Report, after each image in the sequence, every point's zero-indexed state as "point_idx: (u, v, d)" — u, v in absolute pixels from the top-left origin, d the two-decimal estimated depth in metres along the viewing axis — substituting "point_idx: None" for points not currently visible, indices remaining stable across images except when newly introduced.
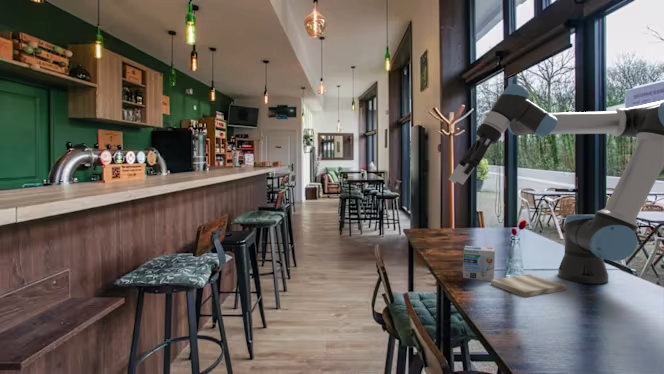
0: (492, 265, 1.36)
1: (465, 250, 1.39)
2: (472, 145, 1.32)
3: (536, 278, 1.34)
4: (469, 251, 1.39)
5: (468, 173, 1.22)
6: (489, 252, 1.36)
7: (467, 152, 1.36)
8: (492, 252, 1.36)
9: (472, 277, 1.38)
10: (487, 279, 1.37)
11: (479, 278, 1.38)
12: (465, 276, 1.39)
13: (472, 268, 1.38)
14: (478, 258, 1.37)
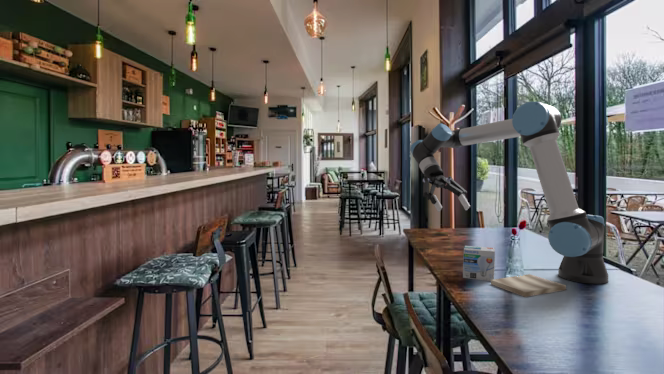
0: (492, 265, 1.36)
1: (465, 250, 1.39)
2: None
3: (536, 278, 1.34)
4: (469, 251, 1.38)
5: (433, 201, 1.51)
6: (489, 252, 1.36)
7: None
8: (492, 252, 1.36)
9: (472, 277, 1.38)
10: (487, 279, 1.37)
11: (479, 278, 1.38)
12: (465, 276, 1.39)
13: (472, 268, 1.38)
14: (478, 258, 1.37)
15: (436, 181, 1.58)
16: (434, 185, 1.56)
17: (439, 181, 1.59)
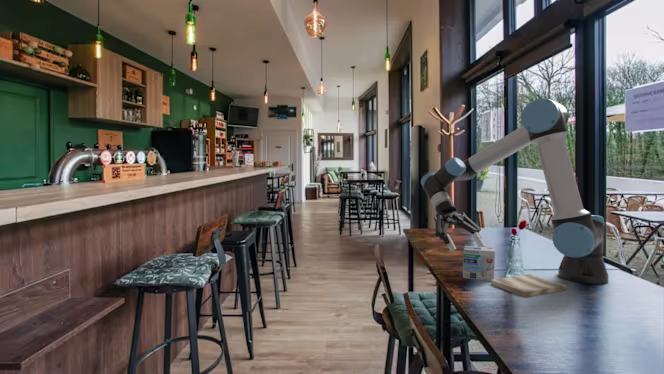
0: (492, 265, 1.36)
1: (465, 250, 1.39)
2: None
3: (536, 278, 1.34)
4: (469, 251, 1.39)
5: (446, 241, 1.43)
6: (489, 252, 1.36)
7: None
8: (492, 252, 1.36)
9: (472, 277, 1.38)
10: (487, 279, 1.37)
11: (479, 278, 1.38)
12: (465, 276, 1.39)
13: (472, 268, 1.38)
14: (478, 258, 1.37)
15: (449, 218, 1.50)
16: (447, 223, 1.49)
17: (452, 218, 1.52)
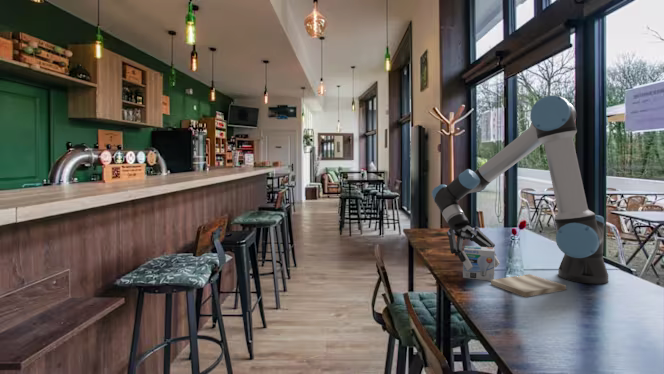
0: (492, 265, 1.36)
1: (465, 250, 1.39)
2: None
3: (536, 278, 1.34)
4: (469, 251, 1.39)
5: (462, 259, 1.37)
6: (489, 252, 1.36)
7: None
8: (492, 252, 1.36)
9: (472, 277, 1.38)
10: (487, 279, 1.37)
11: (479, 278, 1.38)
12: (465, 276, 1.39)
13: (472, 268, 1.38)
14: (478, 258, 1.37)
15: (463, 233, 1.44)
16: (461, 239, 1.43)
17: (465, 233, 1.46)
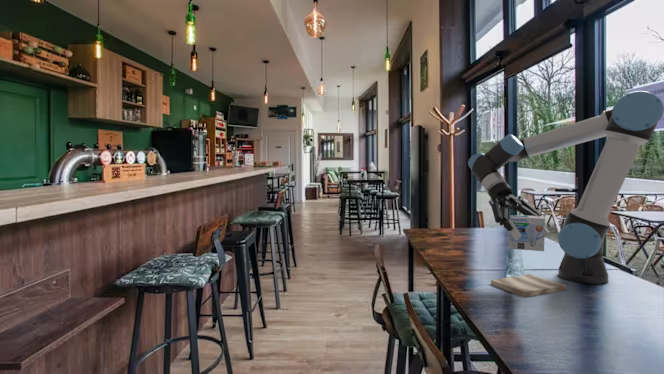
0: (542, 233, 1.24)
1: (511, 218, 1.28)
2: None
3: (536, 278, 1.34)
4: (516, 219, 1.27)
5: (509, 227, 1.26)
6: (539, 219, 1.25)
7: None
8: (542, 219, 1.24)
9: (520, 247, 1.27)
10: (537, 249, 1.25)
11: (528, 248, 1.26)
12: (512, 247, 1.28)
13: (520, 238, 1.27)
14: (526, 226, 1.26)
15: (507, 202, 1.33)
16: (506, 207, 1.32)
17: (509, 201, 1.35)
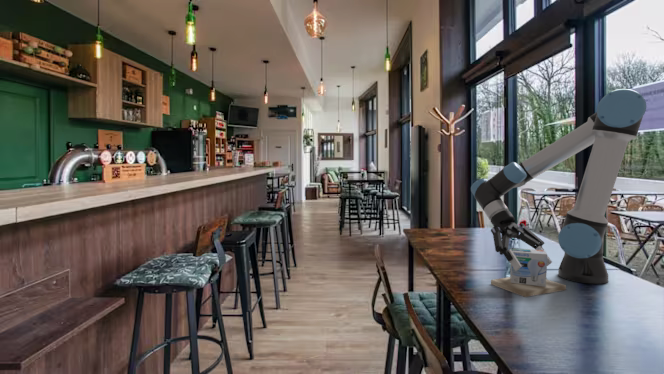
0: (544, 269, 1.25)
1: None
2: None
3: None
4: (518, 254, 1.27)
5: (509, 257, 1.26)
6: (541, 255, 1.25)
7: None
8: (544, 255, 1.24)
9: (521, 282, 1.27)
10: (539, 284, 1.25)
11: (529, 283, 1.26)
12: (513, 281, 1.28)
13: (522, 272, 1.27)
14: (528, 261, 1.26)
15: (509, 231, 1.33)
16: (507, 236, 1.32)
17: (511, 230, 1.34)
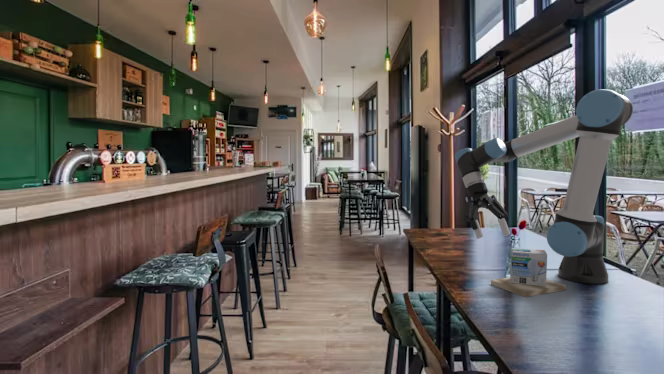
0: (544, 269, 1.25)
1: (513, 253, 1.28)
2: None
3: None
4: (518, 254, 1.27)
5: (474, 227, 1.43)
6: (541, 255, 1.25)
7: None
8: (544, 255, 1.24)
9: (521, 282, 1.27)
10: (539, 284, 1.25)
11: (529, 283, 1.26)
12: (513, 281, 1.28)
13: (522, 272, 1.27)
14: (528, 261, 1.26)
15: (480, 202, 1.48)
16: (477, 207, 1.47)
17: (482, 202, 1.50)
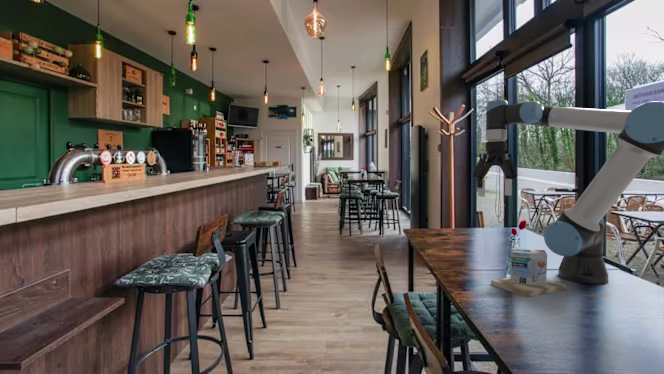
0: (544, 269, 1.25)
1: (513, 253, 1.28)
2: None
3: None
4: (518, 254, 1.27)
5: (479, 186, 1.47)
6: (541, 255, 1.25)
7: (507, 166, 1.54)
8: (544, 255, 1.24)
9: (521, 282, 1.27)
10: (539, 284, 1.25)
11: (529, 283, 1.26)
12: (513, 281, 1.28)
13: (522, 272, 1.27)
14: (528, 261, 1.26)
15: (493, 162, 1.48)
16: (489, 166, 1.48)
17: (496, 160, 1.49)
